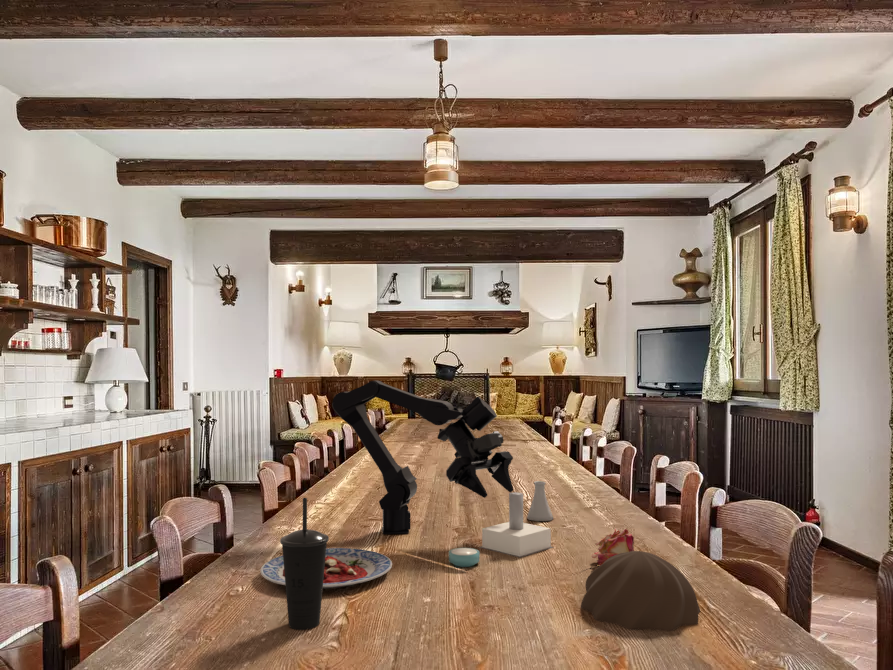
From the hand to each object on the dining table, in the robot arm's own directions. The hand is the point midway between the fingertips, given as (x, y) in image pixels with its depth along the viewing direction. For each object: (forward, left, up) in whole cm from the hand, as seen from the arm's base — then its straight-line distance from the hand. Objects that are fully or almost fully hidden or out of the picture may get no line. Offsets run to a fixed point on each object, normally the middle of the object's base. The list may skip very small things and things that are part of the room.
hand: (499, 493), depth 158 cm
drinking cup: (-42, -43, -12) cm, 61 cm away
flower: (+19, -21, -12) cm, 31 cm away
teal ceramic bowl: (-11, -15, -12) cm, 22 cm away
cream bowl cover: (+3, -4, -11) cm, 12 cm away
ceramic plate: (-39, -17, -12) cm, 44 cm away
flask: (+17, +25, -12) cm, 32 cm away
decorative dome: (+14, -45, -12) cm, 49 cm away
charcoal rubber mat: (+3, -4, -12) cm, 13 cm away
